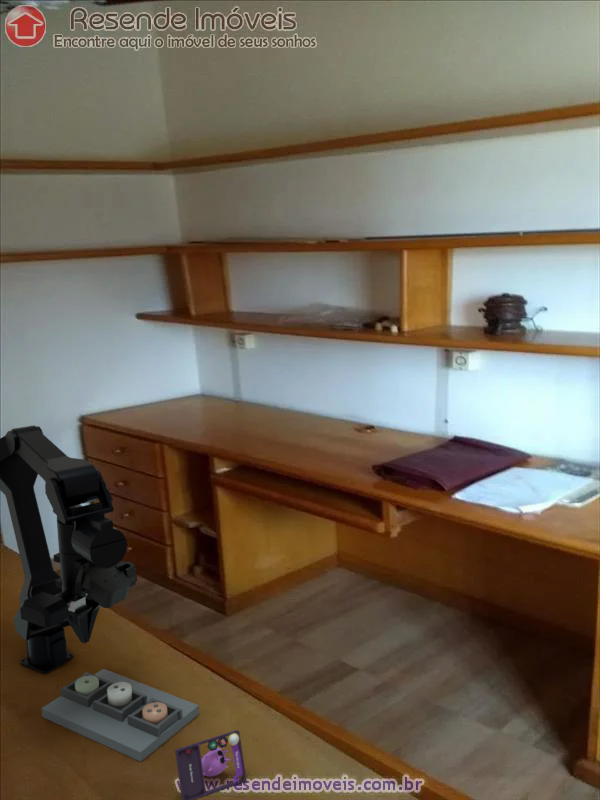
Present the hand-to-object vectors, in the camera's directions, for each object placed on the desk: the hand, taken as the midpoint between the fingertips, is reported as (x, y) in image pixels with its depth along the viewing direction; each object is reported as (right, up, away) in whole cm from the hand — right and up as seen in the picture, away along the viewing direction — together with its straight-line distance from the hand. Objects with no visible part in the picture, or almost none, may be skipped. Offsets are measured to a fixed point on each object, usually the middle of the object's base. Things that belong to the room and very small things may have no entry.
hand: (84, 642), depth 122 cm
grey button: (+6, -8, -2) cm, 10 cm away
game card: (+21, -14, -16) cm, 30 cm away
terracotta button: (+12, -10, -5) cm, 16 cm away
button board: (+6, -11, -1) cm, 12 cm away
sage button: (0, -9, +2) cm, 9 cm away
